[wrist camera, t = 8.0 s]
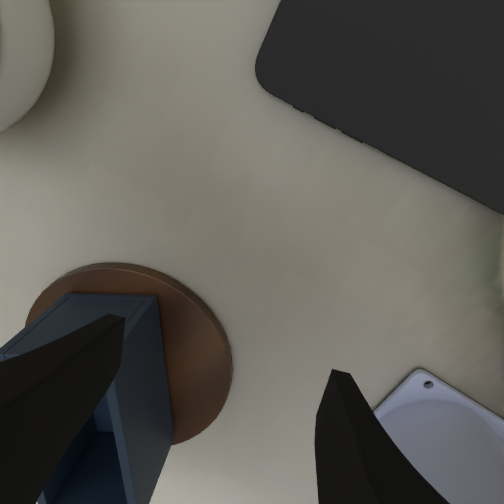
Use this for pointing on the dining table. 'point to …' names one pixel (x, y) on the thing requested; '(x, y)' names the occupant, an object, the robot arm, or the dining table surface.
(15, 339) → the bin
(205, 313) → the disc
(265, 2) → the dining table surface
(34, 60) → the trinket box
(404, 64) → the phone
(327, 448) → the robot arm
